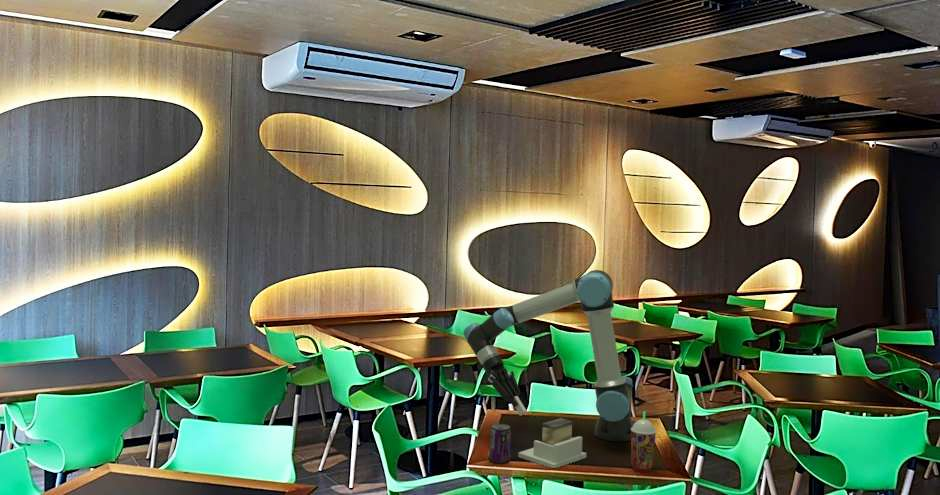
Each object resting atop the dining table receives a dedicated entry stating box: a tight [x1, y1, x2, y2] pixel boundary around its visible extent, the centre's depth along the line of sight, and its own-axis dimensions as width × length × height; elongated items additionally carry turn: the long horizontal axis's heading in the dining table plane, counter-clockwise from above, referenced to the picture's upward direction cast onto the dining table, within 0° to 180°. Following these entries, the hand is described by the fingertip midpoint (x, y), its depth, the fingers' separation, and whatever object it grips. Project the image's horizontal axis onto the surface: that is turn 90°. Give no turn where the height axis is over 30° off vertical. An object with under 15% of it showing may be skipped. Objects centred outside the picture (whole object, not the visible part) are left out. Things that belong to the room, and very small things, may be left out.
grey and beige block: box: [541, 417, 574, 446], centre depth 277 cm, size 5×10×11 cm, turn 135°
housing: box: [517, 435, 588, 469], centre depth 278 cm, size 16×18×8 cm
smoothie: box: [630, 410, 657, 473], centre depth 268 cm, size 8×8×20 cm
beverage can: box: [489, 423, 512, 464], centre depth 273 cm, size 7×7×12 cm
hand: (523, 413), depth 287 cm, fingers closed
